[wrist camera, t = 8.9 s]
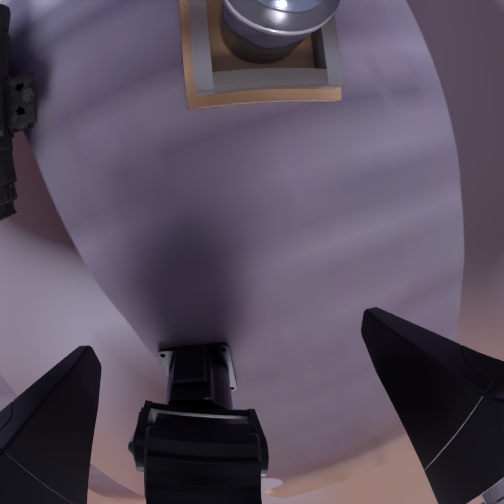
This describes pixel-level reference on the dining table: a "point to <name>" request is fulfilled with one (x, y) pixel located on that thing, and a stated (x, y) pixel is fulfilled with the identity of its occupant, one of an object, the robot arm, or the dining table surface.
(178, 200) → the dining table surface
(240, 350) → the dining table surface
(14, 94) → the night vision scope
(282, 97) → the mount
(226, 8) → the lens
